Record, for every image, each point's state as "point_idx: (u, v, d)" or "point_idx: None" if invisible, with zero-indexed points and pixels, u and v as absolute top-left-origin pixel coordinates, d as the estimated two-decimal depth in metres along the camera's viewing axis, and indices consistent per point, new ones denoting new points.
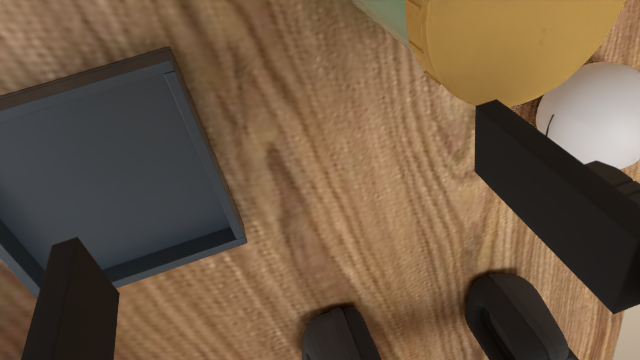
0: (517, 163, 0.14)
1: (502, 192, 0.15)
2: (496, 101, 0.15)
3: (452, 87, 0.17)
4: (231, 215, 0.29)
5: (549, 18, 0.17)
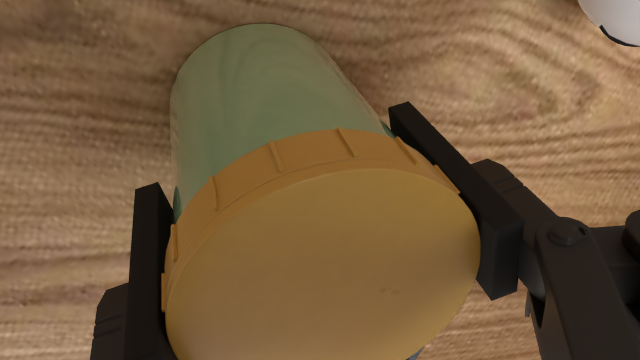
0: None
1: None
2: (408, 103, 0.16)
3: None
4: None
5: (371, 285, 0.12)
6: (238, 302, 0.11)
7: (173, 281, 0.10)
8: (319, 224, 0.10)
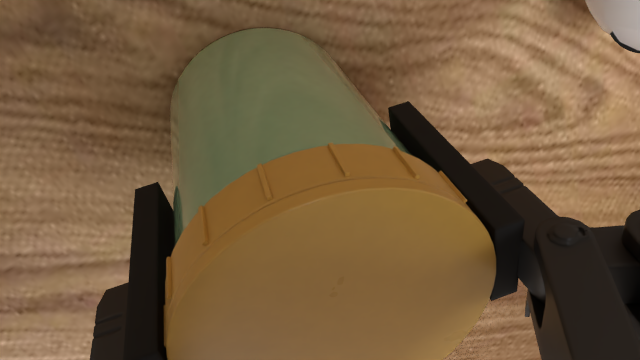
0: None
1: None
2: (408, 103, 0.16)
3: (488, 252, 0.11)
4: None
5: (322, 306, 0.11)
6: None
7: None
8: None
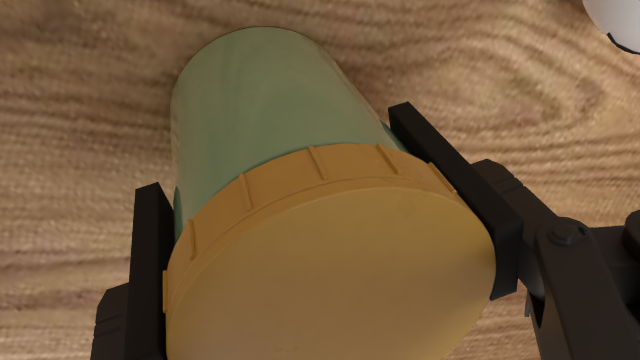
0: None
1: None
2: (408, 103, 0.16)
3: (253, 236, 0.09)
4: None
5: (310, 350, 0.11)
6: (435, 313, 0.12)
7: None
8: None
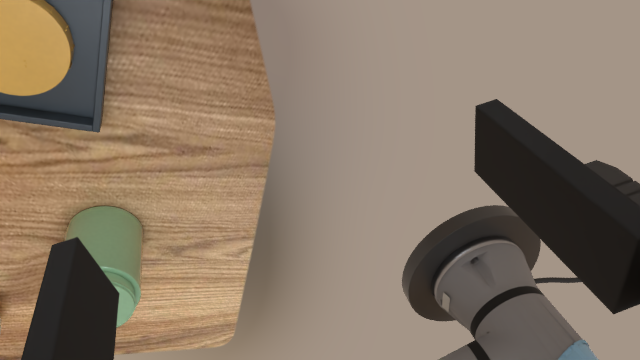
0: (517, 163, 0.14)
1: (502, 192, 0.15)
2: (496, 101, 0.15)
3: None
4: None
5: (25, 55, 0.36)
6: None
7: None
8: (41, 28, 0.36)
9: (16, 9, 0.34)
